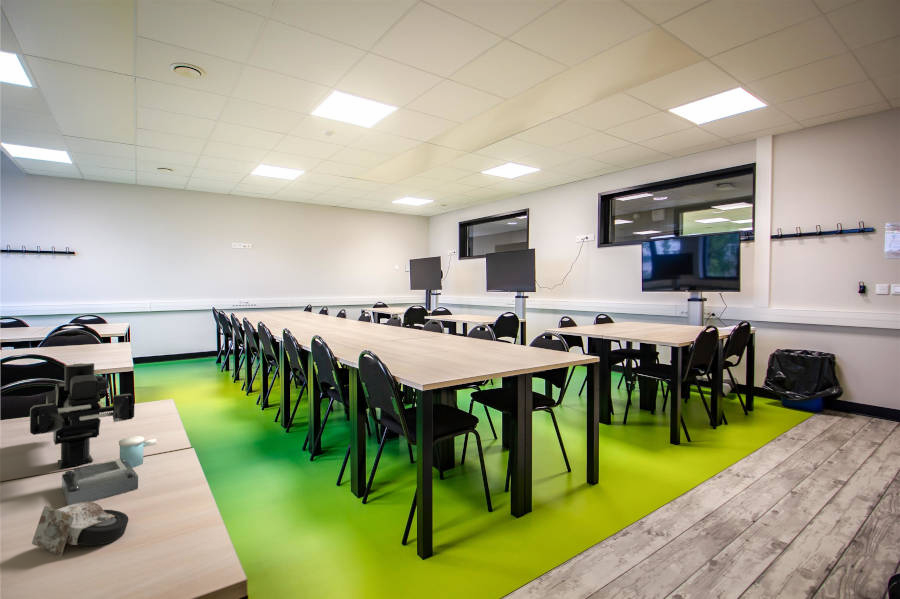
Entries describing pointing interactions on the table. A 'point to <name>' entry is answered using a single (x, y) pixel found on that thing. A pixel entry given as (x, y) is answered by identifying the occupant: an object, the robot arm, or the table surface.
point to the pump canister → (134, 449)
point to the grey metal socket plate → (98, 481)
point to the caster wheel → (78, 526)
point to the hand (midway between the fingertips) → (90, 420)
